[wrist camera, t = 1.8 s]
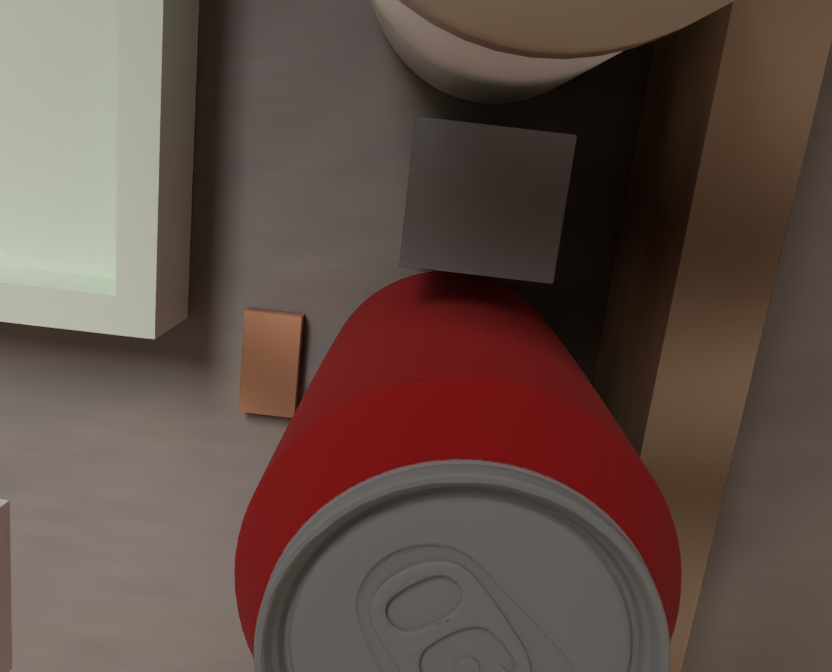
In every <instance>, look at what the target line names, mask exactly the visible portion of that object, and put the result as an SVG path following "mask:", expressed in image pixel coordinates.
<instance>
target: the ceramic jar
mask: <svg viewBox="0 0 832 672" xmlns="http://www.w3.org/2000/svg"><path fill="white" fill-rule="evenodd" d="M733 1H735V0H370V2H371V4H372V6H373V9H374V11H375V14H376V16H377V19H378V21H379V24H380V26H381V28H382V30H383V32H384V34H385V36H386V38H387V40H388V41H389V43H390V44H391V46H392V47H393V49H394V50H395V52H396V53H397V55H398V56H399V57H400V58H401V59H402V60H403V62H404V63H405V64H406V65H407V66H408V67H409V68H410V69H411V70H412V71H413V72H414V73H415V74H417V75H418V76H419V77H420V78H421V79H423V80H424V81H426V82H427V83H429V84H430V85H432V86H433V87H434V88H436V89H438V90H440V91H443V92H445V93H447V94H449V95H451V96H454V97H457V98H460V99H463V100H467V101H472V102H478V103H488V104H503V103H514V102H518V101H523V100H527V99H531V98H534V97H536V96H539V95H542V94H544V93H547V92H549V91H551V90H552V89H554V88H556V87H558V86H560V85H562V84H564V83H566V82H567V81H569V80H571V79H573V78H575V77H577V76H578V75H580V74H582V73H584V72H586V71H588V70H589V69H591V68H593V67H595V66H597V65H599V64H600V63H602V62H604V61H606V60H608V59H610V58H612V57H613V56H615V55H617V54H619V53H621V52H623V51H624V50H628V49H632V48H636V47H638V46H641V45H644V44H646V43H649V42H652V41H654V40H657V39H660V38H662V37H665V36H668V35H670V34H672V33H674V32H676V31H678V30H680V29H682V28H684V27H686V26H688V25H690V24H692V23H694V22H695V21H697V20H699V19H701V18H703V17H705V16H707V15H709V14H711V13H713V12H714V11H716V10H718V9H720V8H722V7H724V6H726V5H728V4H730V3H731V2H733Z"/></svg>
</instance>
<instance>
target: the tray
mask: <svg viewBox="0 0 832 672" xmlns="http://www.w3.org/2000/svg"><path fill="white" fill-rule="evenodd" d="M198 21H199V0H0V322H8V323H16V324H25V325H34V326H42V327H51V328H60V329H68V330H77V331H86V332H94V333H103V334H112V335H120V336H129V337H138V338H146V339H156V338H158V337H159V336H161V335H162V334H164V333H165V332H167V331H168V330H170V329H171V328H173V327H174V326H176V325H177V324H179V323H180V322H182V321H183V320H185V319H186V318H188V293H189V265H190V238H191V211H192V184H193V157H194V129H195V102H196V75H197V48H198Z"/></svg>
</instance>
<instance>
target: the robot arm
mask: <svg viewBox="0 0 832 672" xmlns="http://www.w3.org/2000/svg"><path fill="white" fill-rule="evenodd" d="M11 668H12V626H11V563H10V500H3V499H0V672H9V671H10V669H11Z"/></svg>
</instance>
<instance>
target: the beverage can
mask: <svg viewBox="0 0 832 672" xmlns="http://www.w3.org/2000/svg"><path fill="white" fill-rule="evenodd" d="M681 575H682V569H681V555H680V548H679V542H678V537H677V533H676V529H675V525H674V522H673V518H672V516H671V513H670V510H669V508H668V505H667V503H666V500H665V498H664V497H663V495H662V493H661V491H660V489H659V487H658V485H657V483H656V482H655V480H654V478H653V477H652V475H651V474H650V472H649V471H648V469H647V467H646V466H645V464H644V463H643V461H642V460H641V458H640V457H639V455H638V454H637V452H636V451H635V449H634V448H633V446H632V444H631V443H630V441H629V440H628V438H627V437H626V435H625V434H624V432H623V431H622V429H621V428H620V426H619V425H618V423H617V421H616V420H615V418H614V417H613V415H612V414H611V412H610V411H609V409H608V408H607V406H606V405H605V403H604V402H603V401H602V399H601V398H600V396H599V395H598V393H597V392H596V390H595V389H594V387H593V386H592V384H591V383H590V381H589V380H588V379H587V377H586V376H585V374H584V373H583V371H582V370H581V368H580V367H579V366H578V364H577V363H576V361H575V360H574V359H573V357H572V356H571V354H570V353H569V352H568V350H567V349H566V347H565V346H564V345H563V343H562V342H561V340H560V339H559V338H558V337H557V335H556V334H555V333H554V331H553V330H552V329H551V327H550V326H549V325H548V323H547V322H546V321H545V319H544V318H543V317H542V316H541V314H540V313H539V312H538V311H537V310H536V309H535V308H534V307H533V306H532V305H531V304H530V303H529V302H528V301H527V300H526V299H525V298H523V297H522V296H521V295H519V294H518V293H516V292H515V291H513V290H512V289H510V288H508V287H507V286H505V285H503V284H501V283H499V282H497V281H494V280H491V279H489V278H486V277H483V276H479V275H472V274H464V273H455V272H447V271H438V272H428V273H422V274H418V275H413V276H410V277H407V278H404V279H401V280H399V281H396V282H394V283H392V284H390V285H388V286H386V287H384V288H383V289H381V290H379V291H378V292H376V293H375V294H373V295H372V296H371V297H370V298H368V299H367V300H366V301H365V302H364V303H362V304H361V305H360V306H359V307H358V308H357V309H356V310H355V312H354V313H353V314H352V315H351V316H350V317H349V319H348V320H347V322H346V323H345V324H344V326H343V328H342V329H341V331H340V333H339V334H338V336H337V338H336V339H335V341H334V343H333V344H332V346H331V348H330V350H329V351H328V353H327V355H326V356H325V358H324V360H323V362H322V363H321V365H320V367H319V369H318V371H317V373H316V374H315V376H314V378H313V380H312V382H311V383H310V385H309V387H308V389H307V391H306V393H305V394H304V396H303V398H302V400H301V402H300V404H299V406H298V408H297V410H296V412H295V413H294V415H293V417H292V419H291V421H290V423H289V425H288V427H287V429H286V431H285V433H284V435H283V437H282V439H281V441H280V443H279V445H278V447H277V449H276V451H275V453H274V455H273V457H272V459H271V461H270V463H269V465H268V467H267V469H266V471H265V473H264V475H263V477H262V479H261V481H260V483H259V485H258V487H257V489H256V491H255V493H254V495H253V497H252V499H251V501H250V503H249V505H248V508H247V511H246V514H245V516H244V519H243V522H242V526H241V530H240V534H239V537H238V543H237V550H236V557H235V591H236V598H237V606H238V612H239V617H240V621H241V625H242V629H243V632H244V635H245V638H246V641H247V644H248V646H249V649H250V651H251V653H252V655H253V658H254V668H255V672H669V668H670V641H671V638H672V635H673V632H674V629H675V625H676V621H677V616H678V612H679V605H680V597H681Z"/></svg>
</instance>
